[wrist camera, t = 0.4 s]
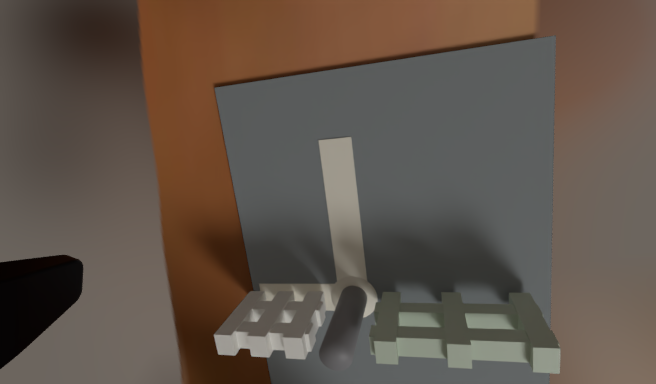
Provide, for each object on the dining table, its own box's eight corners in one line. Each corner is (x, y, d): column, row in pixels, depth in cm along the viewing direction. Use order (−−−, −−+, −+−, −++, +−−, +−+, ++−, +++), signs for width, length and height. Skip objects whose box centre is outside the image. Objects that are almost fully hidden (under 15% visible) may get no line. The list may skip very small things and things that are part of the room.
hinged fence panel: (379, 310, 21) (370, 363, 17) (377, 291, 21) (367, 340, 17) (531, 313, 19) (562, 373, 15) (532, 292, 19) (563, 348, 15)
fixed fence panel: (366, 283, 22) (350, 342, 17) (369, 307, 22) (354, 372, 17) (253, 283, 24) (208, 335, 19) (258, 305, 24) (215, 363, 19)
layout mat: (547, 434, 22) (548, 438, 21) (277, 409, 26) (276, 412, 26) (554, 36, 16) (555, 35, 16) (216, 87, 21) (214, 87, 21)
